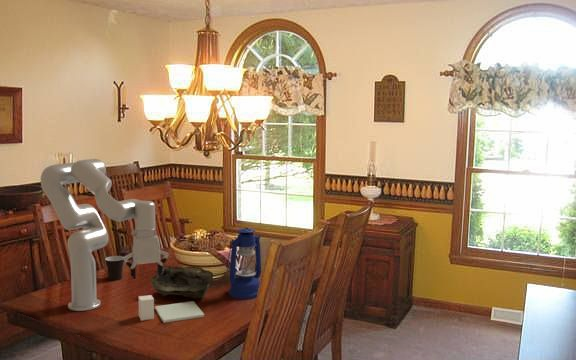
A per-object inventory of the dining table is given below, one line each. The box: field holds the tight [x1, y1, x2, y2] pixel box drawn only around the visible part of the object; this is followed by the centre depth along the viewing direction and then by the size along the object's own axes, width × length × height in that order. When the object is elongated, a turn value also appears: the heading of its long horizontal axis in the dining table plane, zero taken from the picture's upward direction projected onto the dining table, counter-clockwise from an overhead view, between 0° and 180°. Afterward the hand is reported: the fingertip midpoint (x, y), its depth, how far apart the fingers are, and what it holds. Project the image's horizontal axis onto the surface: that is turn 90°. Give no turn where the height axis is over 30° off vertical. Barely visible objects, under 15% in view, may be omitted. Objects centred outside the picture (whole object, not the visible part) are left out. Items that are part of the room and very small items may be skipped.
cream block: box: [138, 294, 155, 322], centre depth 207 cm, size 5×5×8 cm
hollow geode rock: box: [150, 265, 214, 300], centre depth 232 cm, size 28×13×15 cm
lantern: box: [226, 227, 262, 300], centre depth 236 cm, size 17×15×30 cm
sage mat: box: [154, 300, 205, 324], centre depth 213 cm, size 16×16×1 cm
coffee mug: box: [105, 255, 125, 282], centre depth 255 cm, size 12×9×10 cm
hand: (146, 276), depth 205 cm, fingers open, 9 cm apart
